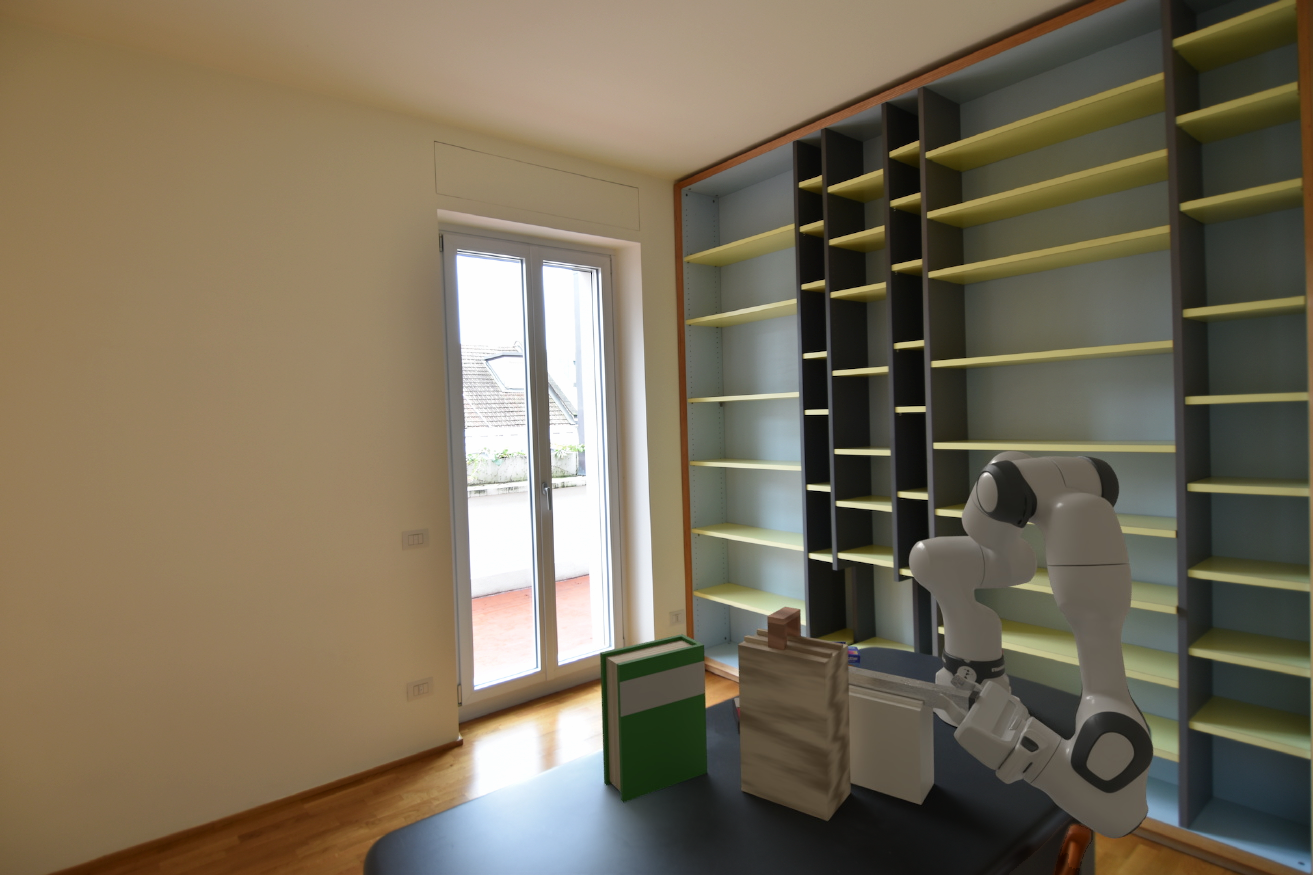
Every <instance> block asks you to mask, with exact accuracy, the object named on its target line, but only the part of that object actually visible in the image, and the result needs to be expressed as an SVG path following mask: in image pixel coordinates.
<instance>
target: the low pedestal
mask: <svg viewBox="0 0 1313 875" xmlns="http://www.w3.org/2000/svg"><path fill="white" fill-rule="evenodd" d="M849 727H850V784H853V785H855V786H860V787H863V788H865V789H868V790H872V791H876V792H878V793H881V794H885V795H888V796H891V797H894V798H898V799H902V800H904V801H907V802H911V803H915V804H918V805H920V806H921V805H922V804H923V803H924V800H925V799H926V797H927V796H928V794H929V792H930V791H931V789H932V787H933V786H934V784H935V762H934V759H935V758H934V757H935V755H934V744H935V743H934V712H933V707H928V706H924V705H923V701H919V700H915V699H910V698H906V697H901V696H897V695H892V694H888V693H883V692H879V691H874V690H870V689H865V688H861V687H857V686H852V685H849Z"/></svg>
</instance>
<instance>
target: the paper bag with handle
mask: <svg viewBox="0 0 1313 875" xmlns="http://www.w3.org/2000/svg"><path fill="white" fill-rule="evenodd" d="M766 617H767V620H766V621H767V629H766V628H761V627H759V628H757V629H756V634H754V635H749V634H746V635H745V636H743V638H744V640H743V641H742V642H740V643H738V645H737V658H738V659H737V660H738V662H737V664H738V691H739V692H738V698H739V708H740V734H739V741H740V742H739V743H740V744H739V746H740V779H741V780H740V786H741V788H740V789H741V791H742V792H745V793H747V794H751V795H753V796H756V797H758V798H761V799H763V800H764V799H765V800H767V801H770V802H772V803H774V804H778V805H781V806H785V807H786V808H789V809H793V810H796V811H798V812H801V813H804V814H807V815H809V816H812V817H816V818H818V819H820V820H823V821H825V822H828V821H829V820H830V819H831V818H832V817H833V815H834V814H835V813H836V811H837V810H838V809H839V808H840V807H841V805H842V804H843V803H844V802H845V800H846V799H847V798H848V796H849V795H850V794H851V790H852V788H851V783H850V727H849V669H848V646H849V645H848V644H847V643H846V644H841V643H836V642H837V641H830V640H824V639H819V638H813V637H807V636H803V635H802V627H801V626H802V623H801V622H802V620H801V619H802V617H801V608H795V607H790V606H784V607H782V608H780V609H778V610H776V611H774V612H773V613H770V614H769V615H767V616H766Z"/></svg>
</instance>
